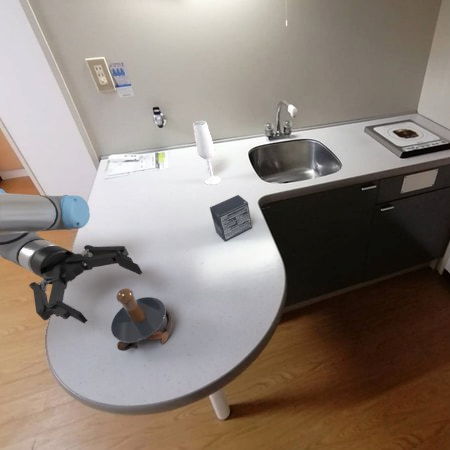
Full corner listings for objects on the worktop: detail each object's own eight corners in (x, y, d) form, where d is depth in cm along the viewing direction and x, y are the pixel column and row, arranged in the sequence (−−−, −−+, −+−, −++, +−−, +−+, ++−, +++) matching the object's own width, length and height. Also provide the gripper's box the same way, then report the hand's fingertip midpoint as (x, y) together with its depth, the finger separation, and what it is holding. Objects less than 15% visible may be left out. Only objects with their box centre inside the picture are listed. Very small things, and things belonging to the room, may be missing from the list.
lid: (119, 353, 61) (97, 326, 55) (107, 315, 68) (86, 287, 62) (173, 323, 66) (159, 295, 60) (156, 290, 73) (142, 262, 67)
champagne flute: (224, 180, 125) (213, 122, 109) (210, 186, 121) (196, 128, 106) (215, 174, 128) (202, 117, 113) (201, 180, 125) (186, 123, 109)
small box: (242, 218, 105) (238, 193, 99) (253, 228, 102) (249, 202, 95) (215, 232, 100) (208, 206, 93) (225, 242, 96) (219, 216, 90)
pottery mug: (147, 312, 77) (154, 294, 73) (174, 337, 77) (184, 320, 72) (102, 346, 67) (109, 327, 63) (134, 374, 67) (142, 358, 62)
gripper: (103, 239, 82) (162, 264, 74) (-1, 312, 64) (64, 353, 57) (90, 217, 77) (152, 241, 70) (-25, 289, 60) (42, 332, 52)
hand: (113, 292), depth 63 cm, fingers open, 13 cm apart
